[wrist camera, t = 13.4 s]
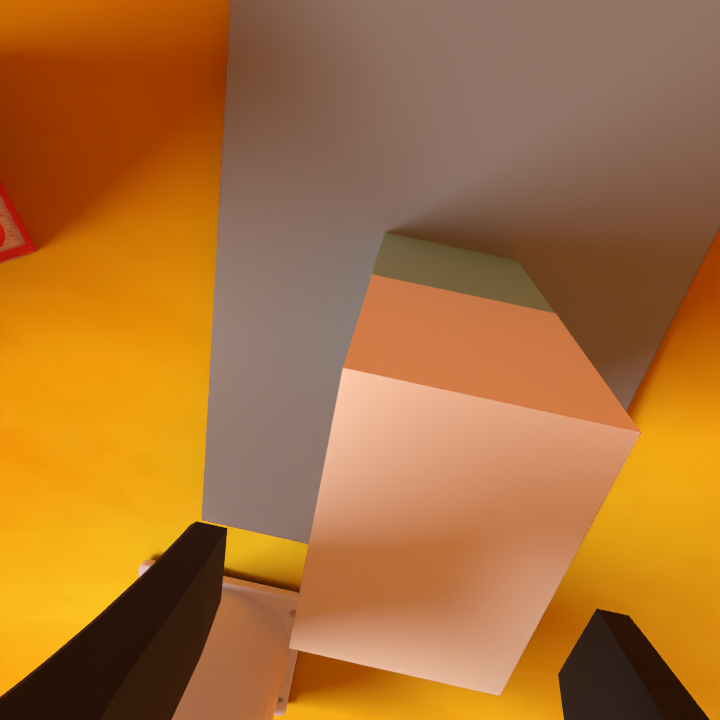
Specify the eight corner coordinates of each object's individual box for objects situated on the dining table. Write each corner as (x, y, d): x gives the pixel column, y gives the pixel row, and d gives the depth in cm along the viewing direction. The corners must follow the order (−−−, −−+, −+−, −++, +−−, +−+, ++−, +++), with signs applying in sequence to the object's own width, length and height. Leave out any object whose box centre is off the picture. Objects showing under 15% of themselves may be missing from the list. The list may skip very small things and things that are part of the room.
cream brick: (475, 520, 13) (499, 695, 9) (328, 488, 13) (289, 647, 9) (556, 313, 11) (641, 432, 6) (372, 273, 11) (342, 367, 7)
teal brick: (461, 427, 17) (473, 520, 13) (348, 402, 17) (327, 487, 13) (517, 260, 15) (555, 313, 11) (384, 231, 15) (371, 273, 11)
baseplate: (528, 574, 21) (533, 594, 20) (210, 503, 21) (201, 520, 20) (797, 22, 12) (827, 15, 11) (249, -89, 12) (236, -104, 12)
